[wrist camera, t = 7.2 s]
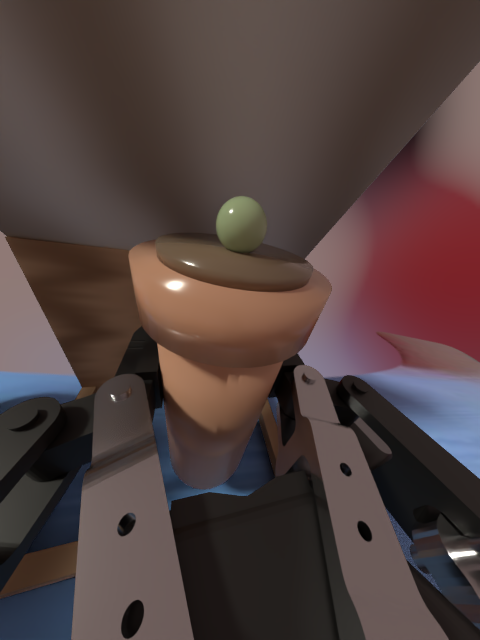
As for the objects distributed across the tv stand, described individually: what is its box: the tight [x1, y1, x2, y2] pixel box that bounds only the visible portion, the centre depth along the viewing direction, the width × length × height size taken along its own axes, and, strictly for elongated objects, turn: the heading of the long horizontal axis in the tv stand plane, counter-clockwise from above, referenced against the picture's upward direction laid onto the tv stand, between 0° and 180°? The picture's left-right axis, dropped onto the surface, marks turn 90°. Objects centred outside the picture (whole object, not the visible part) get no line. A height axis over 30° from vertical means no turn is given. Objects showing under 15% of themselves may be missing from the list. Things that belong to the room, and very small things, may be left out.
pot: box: [128, 196, 332, 489], centre depth 8 cm, size 6×6×14 cm
